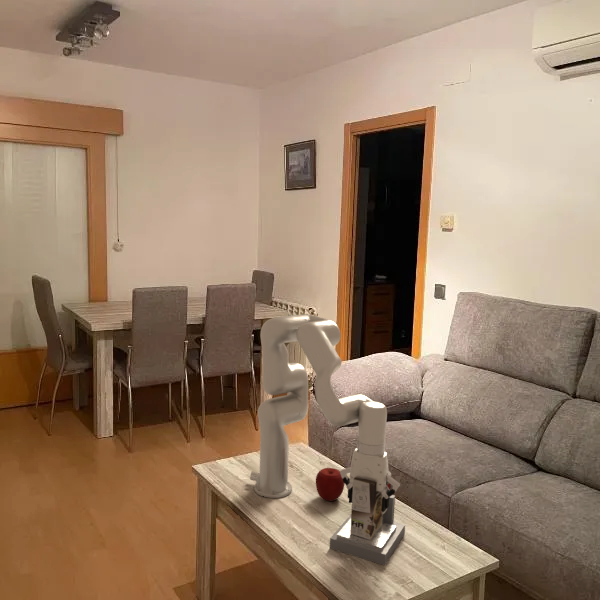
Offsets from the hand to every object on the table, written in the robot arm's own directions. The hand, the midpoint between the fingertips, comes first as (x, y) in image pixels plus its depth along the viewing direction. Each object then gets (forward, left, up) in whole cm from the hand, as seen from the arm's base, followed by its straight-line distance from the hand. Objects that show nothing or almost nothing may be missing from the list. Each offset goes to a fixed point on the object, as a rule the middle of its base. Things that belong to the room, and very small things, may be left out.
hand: (367, 505), depth 161 cm
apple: (-20, +19, -12) cm, 30 cm away
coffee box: (0, 0, -8) cm, 8 cm away
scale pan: (0, 0, -8) cm, 8 cm away
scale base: (0, +1, -11) cm, 11 cm away
